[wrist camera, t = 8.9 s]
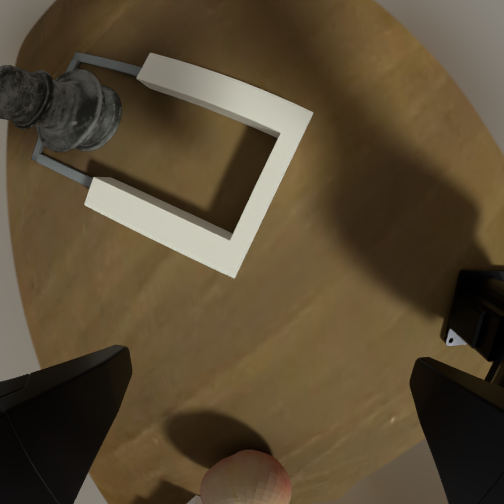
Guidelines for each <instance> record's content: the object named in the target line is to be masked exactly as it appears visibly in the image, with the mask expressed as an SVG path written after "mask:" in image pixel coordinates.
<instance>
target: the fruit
mask: <svg viewBox="0 0 504 504" xmlns="http://www.w3.org/2000/svg"><path fill="white" fill-rule="evenodd" d="M291 491H292V486H291V482H290V478H289V476H288V474H287V472H286V470H285V469H284V467H283V466H282V465H281V464H280V463H279V461H278V460H277V459H275V458H274V457H272V456H271V455H268V454H266V453H264V452H260V451H256V450H242V451H239V452H237V453H236V454H234V455H232V456H229V457H226V458H224V459H222V460H220V461H219V462H217V463H216V464H215V465H214V466H212V467H211V468H210V469H209V470H208V472H207V473H206V474H205V476H204V477H203V479H202V482H201V488H200V497H201V501H202V504H289V501H290V498H291Z"/></svg>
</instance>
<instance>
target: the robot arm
mask: <svg viewBox="0 0 504 504" xmlns="http://www.w3.org/2000/svg"><path fill="white" fill-rule="evenodd" d="M465 274H466V276H465V278H463V277H464V275H465ZM450 338H451V340H450V341H449V339H450ZM444 342H445V344H446V345H448V346H454V345H464V344H468V345H469V346H470V347H471V348H474V349H475V350H476V351H477V352H478V353H479V354H480V355H482V356H483V357H484V358H485V359H486V360H487V361H488V362H492V363H493V364H492V366H491V368H490V370H489V372H488V374H487V376H486V378H485V380H483V379H480V378H478V377H475V376H473V375H470V374H468V373H466V372H463V371H461V370H459V369H456V368H454V367H451V366H449V365H447V364H444V363H442V362H440V361H437V360H435V359H432V358H430V357H421V358H418V359H417V360H416V361H415V364H414V368H413V371H412V374H411V378H410V389H411V392H412V396H413V399H414V403H415V407H416V410H417V414H418V418H419V421H420V424H421V427H422V429H423V432H424V435H425V437H426V440H427V442H428V445H429V448H430V450H431V453H432V456H433V459H434V461H435V464H436V467H437V470H438V473H439V475H440V479H441V482H442V484H443V487H444V491H445V494H446V497H447V500H448V503H449V504H504V270H472V269H463V270H461V271H460V273H459V276H458V282H457V287H456V292H455V297H454V300H453V305H452V309H451V314H450V318H449V322H448V327H447V331H446V335H445V338H444ZM131 376H132V364H131V358H130V352H129V349H128V348H127V347H126V346H121V345H114V346H111V347H108V348H105V349H102V350H99V351H96V352H93V353H90V354H88V355H85V356H82V357H79V358H76V359H73V360H70V361H67V362H64V363H61V364H58V365H54V366H51V367H48V368H45V369H42V370H39V371H36V372H33V373H31V374H26V375H23V376H20V377H17V378H13V379H9V380H5V381H1V382H0V504H74V501H75V499H76V497H77V495H78V493H79V491H80V488H81V486H82V484H83V482H84V480H85V478H86V475H87V474H88V472H89V470H90V467H91V465H92V463H93V461H94V459H95V457H96V455H97V453H98V451H99V449H100V447H101V445H102V443H103V441H104V439H105V437H106V435H107V433H108V431H109V429H110V427H111V425H112V423H113V421H114V419H115V417H116V415H117V413H118V411H119V408H120V406H121V403H122V400H123V398H124V395H125V392H126V389H127V387H128V384H129V381H130V379H131Z"/></svg>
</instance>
